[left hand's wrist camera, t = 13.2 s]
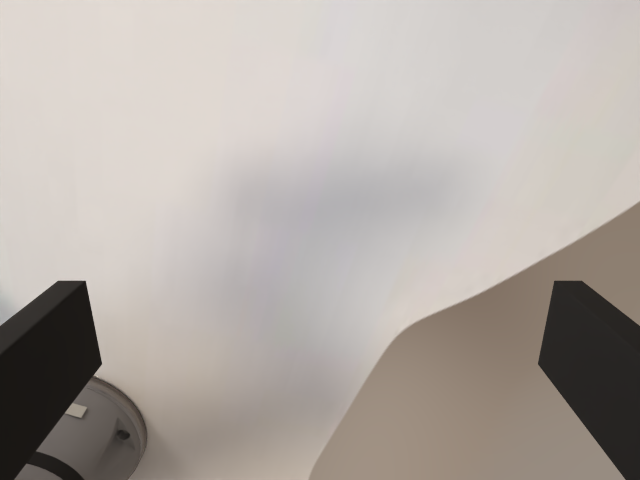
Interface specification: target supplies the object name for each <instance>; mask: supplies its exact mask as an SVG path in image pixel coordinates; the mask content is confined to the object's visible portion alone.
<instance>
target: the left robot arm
mask: <svg viewBox="0 0 640 480" xmlns="http://www.w3.org/2000/svg"><path fill="white" fill-rule="evenodd" d="M101 365H102V361H101V356H100V351H99V346H98V341H97V336H96V331H95V326H94V321H93V316H92V311H91V306H90V301H89V296H88V291H87V286H86V281H57V282H56V283H55V284H54V285H52V286H51V287H50V288H48V289H47V290H46V291H45V292H43V293H42V294H41V295H39V296H38V297H37V298H36V299H34V300H33V301H32V302H30V303H29V304H28V305H27V306H25V307H24V308H23V309H21V310H20V311H19V312H18V313H16V314H15V315H14V316H13V317H11V318H10V319H9V320H7V321H6V322H5V323H4V324H2V325H1V326H0V480H127V479H128V478H129V477H130V476H131V474H132V473H133V472H134V471H135V469H136V467H137V465H138V463H139V461H140V459H141V457H142V455H143V453H144V450H145V446H146V429H145V425H144V421H143V419H142V417H141V415H140V413H139V411H138V410H137V408H136V407H135V406H134V404H133V403H132V402H131V401H130V400H129V399H128V398H127V397H126V396H125V395H124V394H122V393H121V392H120V391H118V390H117V389H116V388H114V387H112V386H111V385H109V384H107V383H105V382H103V381H101V380H98V379H96V378H93V375H94V374H95V373H96V371H97V370H98V369H99V367H100V366H101ZM538 365H539V366H540V367H541V369H542V370H543V371H544V373H545V374H546V375H547V377H548V378H549V379H550V380H551V382H552V383H553V384H554V386H555V387H556V388H557V390H558V391H559V392H560V394H561V395H562V396H563V398H564V399H565V400H566V402H567V403H568V404H569V406H570V407H571V408H572V410H573V411H574V412H575V413H576V415H577V416H578V417H579V419H580V420H581V421H582V423H583V424H584V425H585V427H586V428H587V429H588V431H589V432H590V433H591V435H592V436H593V437H594V439H595V440H596V441H597V442H598V444H599V445H600V446H601V448H602V449H603V450H604V452H605V453H606V454H607V456H608V457H609V458H610V460H611V461H612V462H613V464H614V465H615V466H616V467H617V469H618V470H619V471H620V473H621V474H622V475H623V477H624V478H625V479H626V480H640V326H639V325H638V324H636V323H635V322H634V321H633V320H631V319H630V318H629V317H627V316H626V315H625V314H624V313H622V312H621V311H620V310H619V309H617V308H616V307H615V306H613V305H612V304H611V303H609V302H608V301H607V300H606V299H604V298H603V297H602V296H601V295H599V294H598V293H597V292H595V291H594V290H593V289H592V288H590V287H589V286H588V285H586V284H585V283H584V282H583V281H554V286H553V291H552V296H551V301H550V306H549V311H548V316H547V321H546V326H545V331H544V336H543V341H542V346H541V351H540V356H539V361H538Z"/></svg>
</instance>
